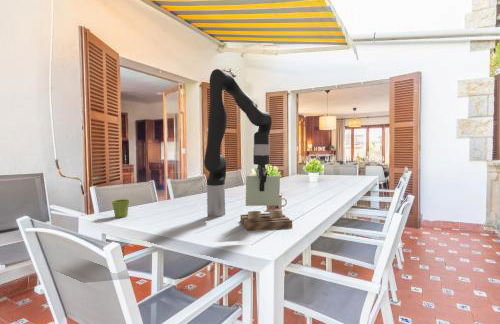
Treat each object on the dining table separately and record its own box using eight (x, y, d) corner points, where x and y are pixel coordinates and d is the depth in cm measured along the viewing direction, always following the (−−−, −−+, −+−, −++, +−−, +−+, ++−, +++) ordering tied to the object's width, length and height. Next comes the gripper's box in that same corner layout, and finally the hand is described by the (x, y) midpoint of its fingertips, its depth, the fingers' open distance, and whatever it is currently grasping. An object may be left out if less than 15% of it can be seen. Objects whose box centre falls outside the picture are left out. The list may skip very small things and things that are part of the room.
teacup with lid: (264, 211, 169) (264, 191, 168) (268, 208, 177) (268, 188, 177) (285, 212, 165) (285, 191, 164) (288, 209, 174) (288, 189, 173)
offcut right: (270, 224, 136) (270, 211, 135) (269, 223, 137) (269, 210, 137) (282, 223, 137) (282, 210, 136) (281, 222, 138) (281, 209, 138)
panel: (246, 205, 139) (246, 175, 139) (245, 205, 141) (246, 175, 140) (279, 205, 142) (280, 176, 142) (278, 205, 144) (279, 175, 143)
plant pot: (107, 217, 159) (107, 201, 158) (121, 214, 168) (120, 198, 167) (121, 219, 155) (120, 202, 155) (134, 215, 164) (133, 199, 164)
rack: (247, 234, 125) (247, 223, 125) (240, 223, 143) (240, 214, 143) (292, 231, 129) (292, 220, 129) (280, 221, 147) (280, 212, 146)
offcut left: (248, 225, 134) (248, 212, 133) (248, 224, 135) (248, 211, 135) (260, 224, 135) (260, 211, 134) (260, 223, 136) (259, 210, 136)
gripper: (250, 153, 146) (250, 189, 147) (256, 154, 133) (256, 193, 134) (265, 153, 147) (265, 188, 148) (273, 154, 134) (273, 192, 135)
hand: (261, 190), depth 141 cm, fingers closed on panel, 1 cm apart
